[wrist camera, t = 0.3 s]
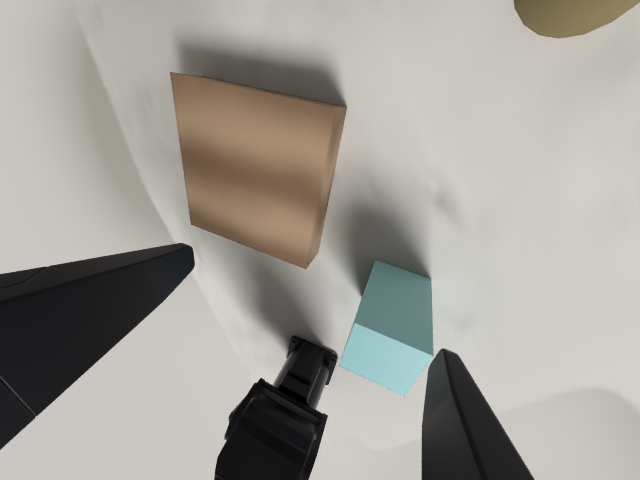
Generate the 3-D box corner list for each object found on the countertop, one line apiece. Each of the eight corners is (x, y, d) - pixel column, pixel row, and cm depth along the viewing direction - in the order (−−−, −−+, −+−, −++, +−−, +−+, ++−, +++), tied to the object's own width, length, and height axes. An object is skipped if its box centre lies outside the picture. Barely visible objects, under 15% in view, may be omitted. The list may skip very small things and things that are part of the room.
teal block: (410, 317, 24) (404, 396, 17) (361, 297, 25) (338, 365, 18) (431, 279, 21) (433, 356, 15) (375, 259, 22) (354, 322, 16)
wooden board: (318, 252, 24) (305, 269, 22) (212, 213, 27) (191, 224, 25) (346, 107, 17) (333, 107, 15) (201, 76, 20) (170, 72, 18)
